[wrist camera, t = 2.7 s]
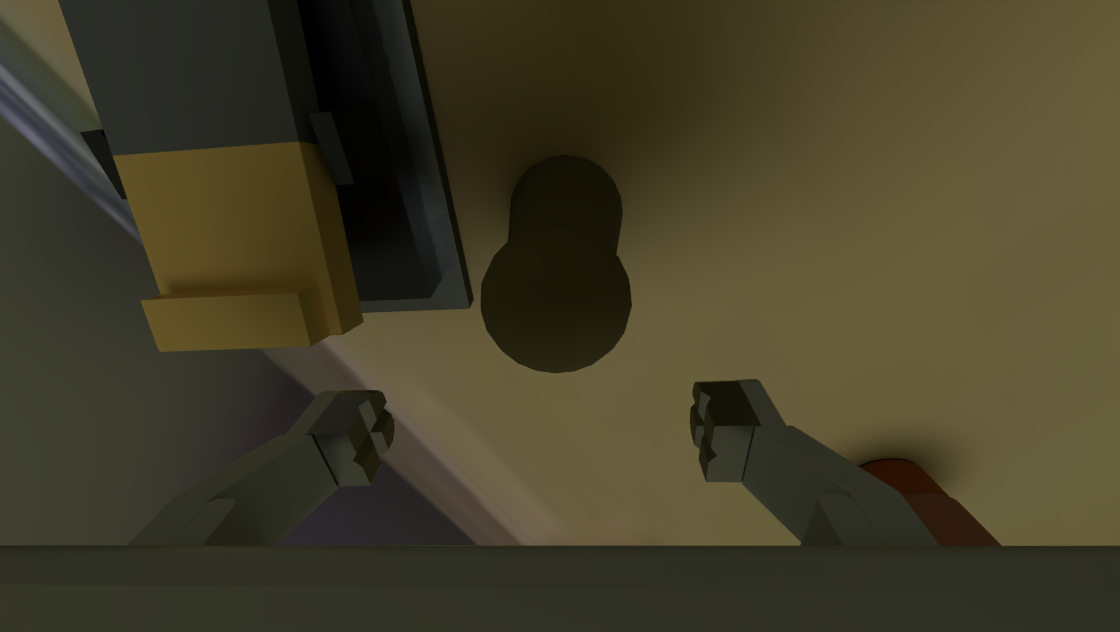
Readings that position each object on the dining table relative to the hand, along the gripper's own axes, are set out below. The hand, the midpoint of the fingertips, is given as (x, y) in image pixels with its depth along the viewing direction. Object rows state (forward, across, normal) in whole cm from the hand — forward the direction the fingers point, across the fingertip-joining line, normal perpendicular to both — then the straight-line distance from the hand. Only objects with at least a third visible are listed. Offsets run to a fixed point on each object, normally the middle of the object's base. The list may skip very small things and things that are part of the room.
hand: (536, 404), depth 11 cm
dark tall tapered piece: (+14, 0, -1) cm, 14 cm away
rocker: (+8, +12, -6) cm, 15 cm away
